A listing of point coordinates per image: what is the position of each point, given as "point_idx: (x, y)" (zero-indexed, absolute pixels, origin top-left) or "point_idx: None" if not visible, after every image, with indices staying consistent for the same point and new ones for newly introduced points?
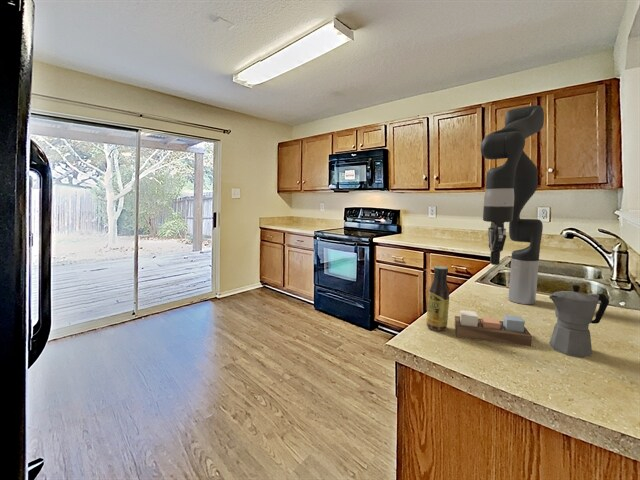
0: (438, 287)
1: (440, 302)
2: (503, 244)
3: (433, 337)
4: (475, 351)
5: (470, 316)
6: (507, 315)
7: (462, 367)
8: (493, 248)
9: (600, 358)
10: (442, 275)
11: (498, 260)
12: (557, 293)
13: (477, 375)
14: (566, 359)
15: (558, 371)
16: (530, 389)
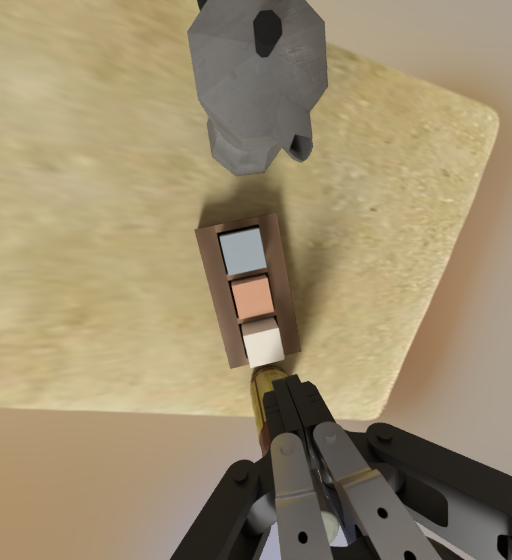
0: None
1: None
2: (473, 464)
3: (317, 374)
4: (343, 304)
5: (280, 341)
6: (229, 267)
7: (409, 313)
8: (411, 482)
9: None
10: (325, 493)
11: (317, 390)
12: (262, 126)
13: (425, 292)
14: None
15: (361, 176)
16: (437, 223)
